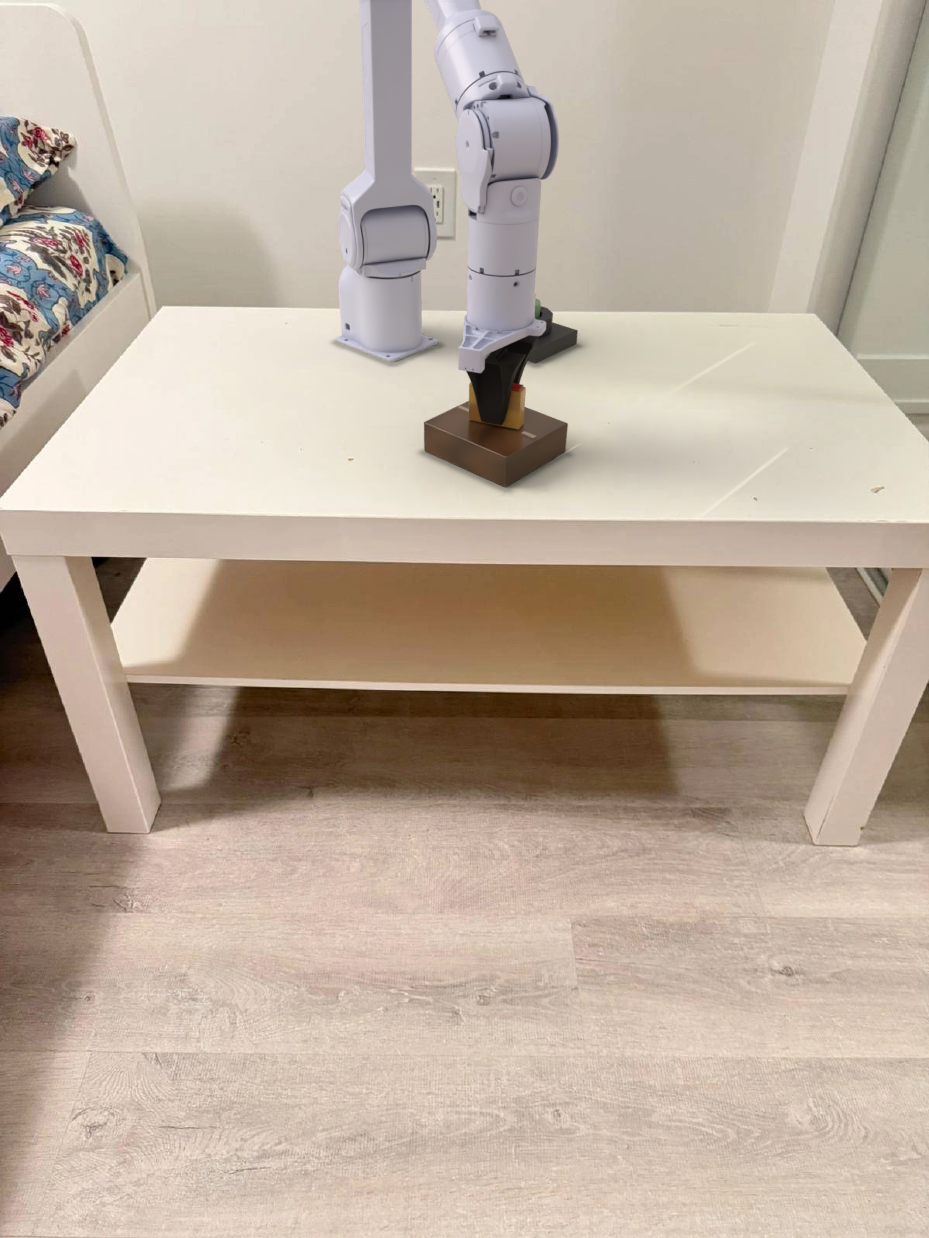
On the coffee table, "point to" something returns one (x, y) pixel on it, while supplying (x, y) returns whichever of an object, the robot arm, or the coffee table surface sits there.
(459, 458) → the plate
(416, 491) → the coffee table surface
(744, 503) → the coffee table surface
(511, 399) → the block
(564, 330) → the push button base
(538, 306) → the button
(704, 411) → the coffee table surface
